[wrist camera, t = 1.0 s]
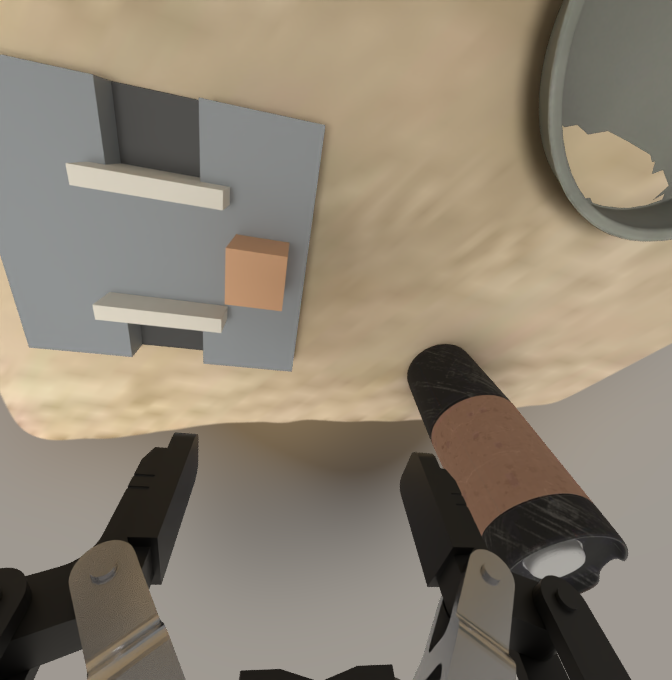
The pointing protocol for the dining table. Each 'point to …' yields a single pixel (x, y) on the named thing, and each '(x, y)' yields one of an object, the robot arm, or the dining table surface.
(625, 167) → the dining table surface
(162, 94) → the tunnel deck
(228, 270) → the block
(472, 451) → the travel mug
